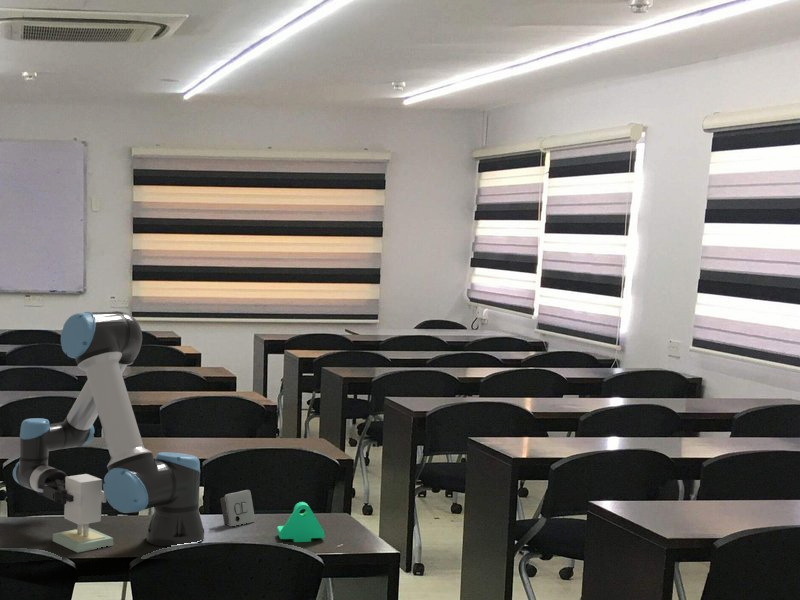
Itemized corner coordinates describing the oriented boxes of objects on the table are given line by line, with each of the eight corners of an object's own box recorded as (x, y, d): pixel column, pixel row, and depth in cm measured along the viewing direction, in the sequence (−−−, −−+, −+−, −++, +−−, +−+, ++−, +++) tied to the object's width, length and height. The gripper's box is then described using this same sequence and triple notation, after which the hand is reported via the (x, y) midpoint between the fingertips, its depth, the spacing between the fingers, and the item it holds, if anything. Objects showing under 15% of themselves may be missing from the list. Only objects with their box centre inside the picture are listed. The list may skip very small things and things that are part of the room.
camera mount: (319, 533, 280) (320, 497, 279) (324, 541, 273) (325, 504, 272) (276, 535, 277) (277, 498, 276) (280, 543, 270) (281, 505, 269)
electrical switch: (231, 528, 281) (230, 495, 281) (218, 526, 284) (217, 493, 285) (255, 522, 288) (254, 490, 289) (243, 520, 292) (242, 488, 292)
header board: (52, 541, 262) (53, 517, 262) (87, 534, 269) (88, 511, 269) (77, 552, 253) (78, 528, 253) (112, 545, 260) (113, 522, 260)
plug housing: (64, 518, 262) (65, 476, 261) (85, 514, 266) (86, 473, 265) (79, 525, 256) (80, 482, 256) (100, 521, 261) (102, 479, 260)
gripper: (81, 490, 280) (125, 508, 264) (16, 500, 266) (58, 519, 251) (82, 464, 280) (126, 480, 264) (16, 472, 266) (59, 490, 250)
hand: (93, 499), depth 257 cm, fingers closed on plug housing, 6 cm apart
